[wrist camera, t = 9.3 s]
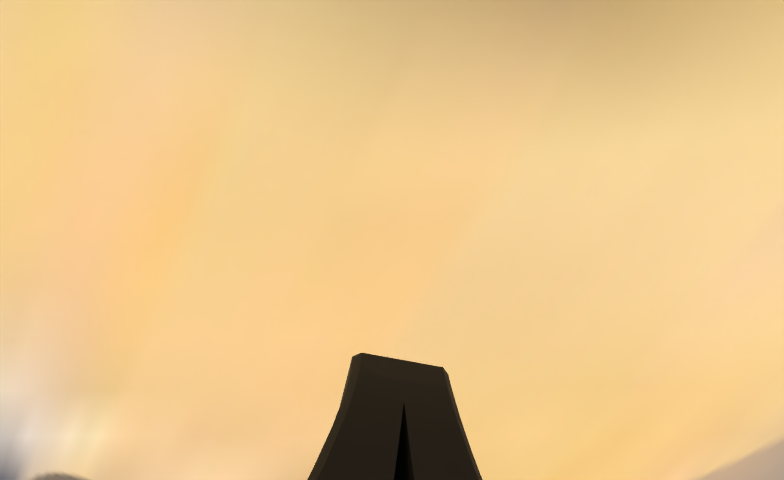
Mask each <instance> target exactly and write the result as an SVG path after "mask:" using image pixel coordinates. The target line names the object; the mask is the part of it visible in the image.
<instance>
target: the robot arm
mask: <svg viewBox="0 0 784 480" xmlns="http://www.w3.org/2000/svg"><path fill="white" fill-rule="evenodd" d="M308 480H482V477H481V475H480V473H479V470H478V467H477V465H476V462H475V459H474V457H473V454H472V451H471V448H470V445H469V442H468V439H467V437H466V434H465V431H464V428H463V425H462V422H461V419H460V415H459V412H458V409H457V406H456V402H455V399H454V395H453V392H452V388H451V384H450V380H449V376H448V374H447V372H446V371H445V370H444V368H443V367H438V366H432V365H427V364H421V363H416V362H410V361H405V360H399V359H394V358H388V357H382V356H377V355H371V354H366V353H360V354H357V355H355V356H353V357H352V360H351V364H350V368H349V372H348V376H347V380H346V384H345V388H344V392H343V396H342V400H341V404H340V408H339V411H338V413H337V416H336V418H335V421H334V424H333V426H332V429H331V431H330V433H329V435H328V437H327V439H326V442H325V444H324V446H323V448H322V450H321V452H320V455H319V457H318V459H317V461H316V463H315V465H314V468H313V470H312V472H311V474H310V476H309V478H308Z"/></svg>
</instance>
